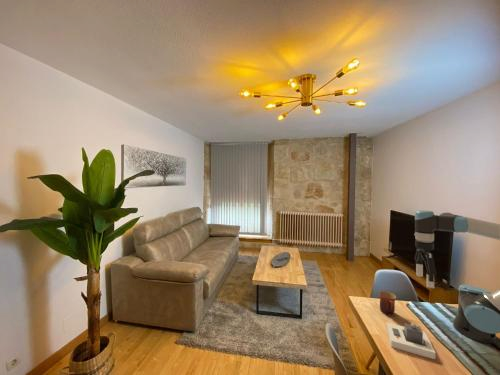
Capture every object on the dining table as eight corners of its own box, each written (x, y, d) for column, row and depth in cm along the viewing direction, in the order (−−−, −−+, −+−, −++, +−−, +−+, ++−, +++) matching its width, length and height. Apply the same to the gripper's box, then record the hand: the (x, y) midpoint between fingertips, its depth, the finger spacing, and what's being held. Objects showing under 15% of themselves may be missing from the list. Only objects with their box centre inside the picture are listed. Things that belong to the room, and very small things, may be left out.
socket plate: (424, 337, 103) (424, 330, 103) (435, 359, 90) (435, 351, 90) (386, 328, 110) (386, 321, 110) (391, 346, 97) (391, 339, 97)
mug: (375, 306, 129) (376, 290, 129) (391, 308, 127) (392, 291, 127) (384, 319, 117) (384, 301, 117) (401, 321, 115) (402, 302, 115)
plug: (419, 341, 100) (419, 323, 100) (422, 347, 96) (422, 329, 96) (403, 337, 103) (404, 320, 102) (406, 343, 99) (406, 325, 98)
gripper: (407, 234, 121) (407, 271, 122) (425, 246, 98) (425, 291, 98) (423, 235, 119) (423, 273, 119) (445, 248, 95) (446, 294, 96)
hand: (424, 281), depth 109 cm, fingers open, 13 cm apart
